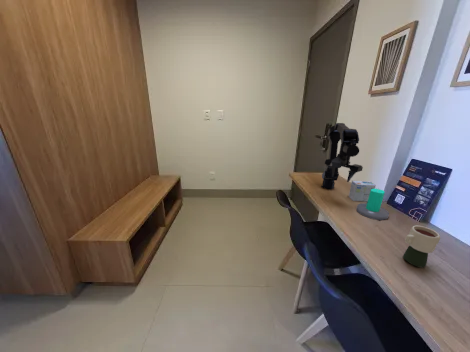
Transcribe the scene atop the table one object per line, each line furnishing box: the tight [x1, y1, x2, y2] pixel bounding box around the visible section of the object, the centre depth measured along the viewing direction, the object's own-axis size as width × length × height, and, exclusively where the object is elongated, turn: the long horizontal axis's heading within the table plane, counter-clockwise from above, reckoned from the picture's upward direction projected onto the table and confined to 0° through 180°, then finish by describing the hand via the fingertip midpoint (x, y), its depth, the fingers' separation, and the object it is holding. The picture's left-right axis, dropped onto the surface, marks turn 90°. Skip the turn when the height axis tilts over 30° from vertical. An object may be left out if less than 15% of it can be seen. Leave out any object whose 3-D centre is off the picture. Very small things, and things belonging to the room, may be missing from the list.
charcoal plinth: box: [356, 202, 390, 221], centre depth 105 cm, size 14×14×2 cm
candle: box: [366, 187, 385, 212], centre depth 103 cm, size 6×6×12 cm
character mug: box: [402, 225, 441, 268], centre depth 70 cm, size 11×7×13 cm, turn 88°
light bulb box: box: [348, 180, 376, 203], centre depth 119 cm, size 11×7×11 cm, turn 84°
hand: (339, 179), depth 114 cm, fingers open, 9 cm apart
